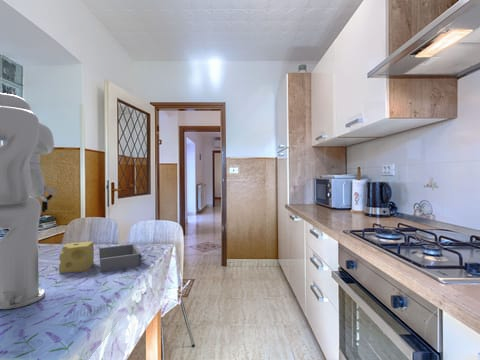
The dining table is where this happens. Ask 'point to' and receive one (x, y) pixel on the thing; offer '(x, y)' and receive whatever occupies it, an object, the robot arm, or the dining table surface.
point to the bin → (119, 257)
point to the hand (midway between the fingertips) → (28, 212)
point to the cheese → (76, 257)
